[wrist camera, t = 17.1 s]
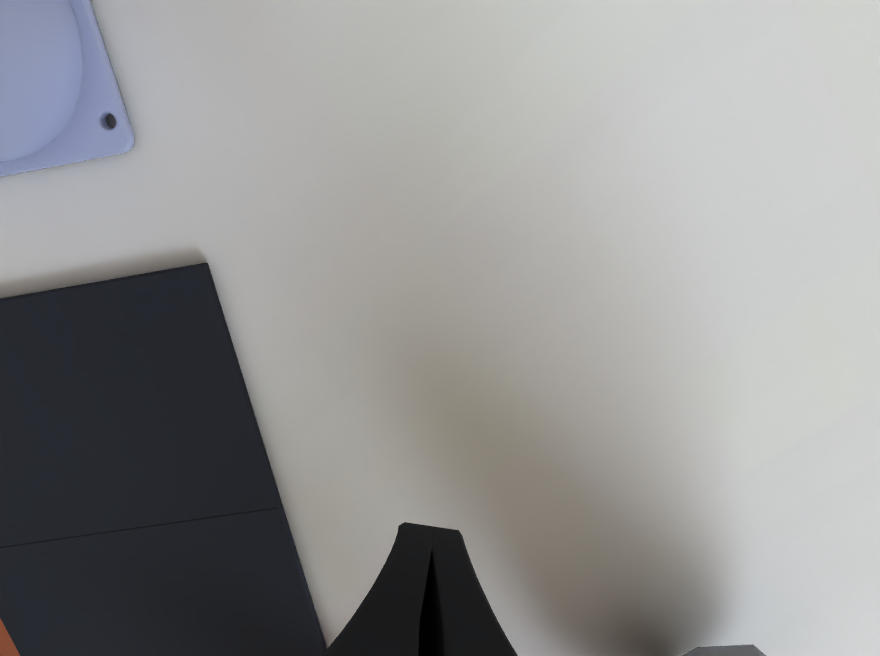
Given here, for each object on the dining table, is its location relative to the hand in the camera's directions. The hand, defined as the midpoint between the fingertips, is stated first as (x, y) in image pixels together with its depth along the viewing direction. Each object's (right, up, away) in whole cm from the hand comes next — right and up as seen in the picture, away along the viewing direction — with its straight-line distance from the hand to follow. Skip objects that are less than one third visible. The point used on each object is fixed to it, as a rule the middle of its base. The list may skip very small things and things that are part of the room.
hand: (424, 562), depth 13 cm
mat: (-18, -4, +11) cm, 22 cm away
